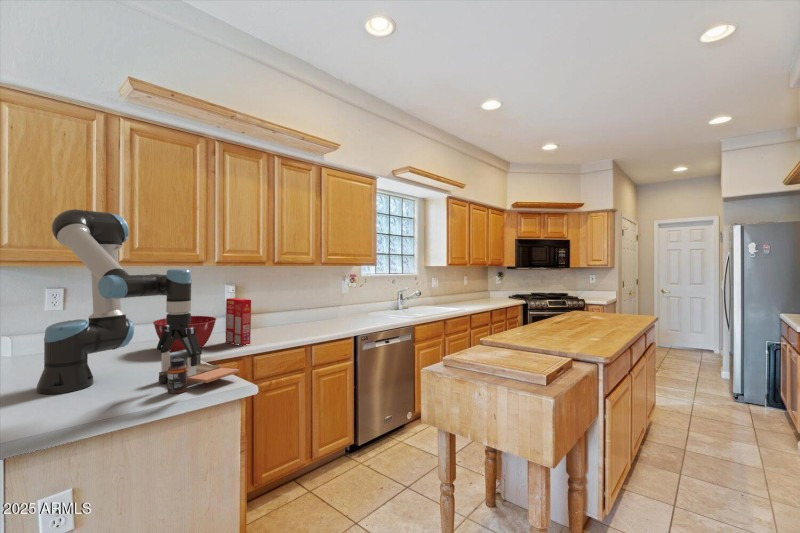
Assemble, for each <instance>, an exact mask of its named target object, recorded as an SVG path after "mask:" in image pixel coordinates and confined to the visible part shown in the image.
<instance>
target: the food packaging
mask: <svg viewBox="0 0 800 533" xmlns="http://www.w3.org/2000/svg"><path fill="white" fill-rule="evenodd" d="M225 302H226V307H225V308H226V310H225V311H226V312H225V313H226V314H225V343H226V342H229V343H234V344H239V345H246V344H250V345H251V334H252V333H251V330H252V329H251V328H252V326H251V325H252V324H251V323H252V322H251V321H252V318H251V317H252V299H249V298H248V299H247V298H238V297H230V298H226V301H225ZM229 343H228V344H229ZM234 344H233V345H234ZM246 346H247V345H246Z"/></svg>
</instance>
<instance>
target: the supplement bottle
mask: <svg viewBox="0 0 800 533" xmlns="http://www.w3.org/2000/svg"><path fill="white" fill-rule="evenodd" d="M187 389H188V386H187V365H185V364H184V359H182V358H179V359H173V360H171V366H170V367H169V368H168V383H167V393H168V394H171V395H173V394H174V395H175V394H181V393H184V392H186V391H187Z"/></svg>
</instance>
